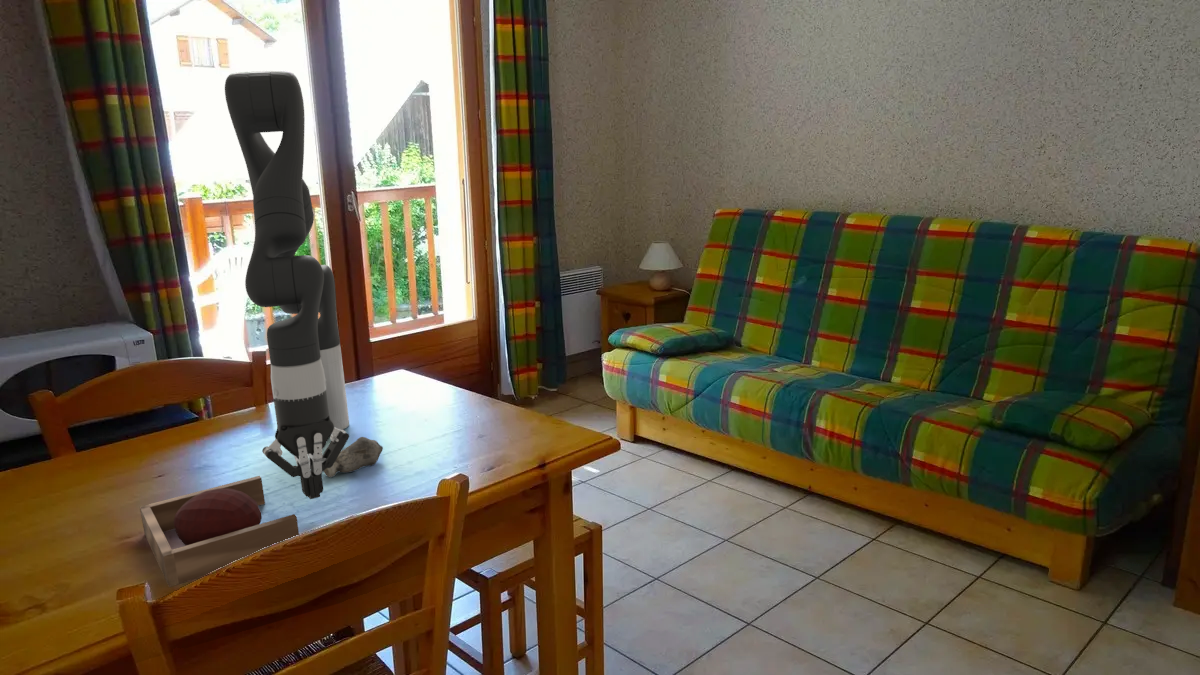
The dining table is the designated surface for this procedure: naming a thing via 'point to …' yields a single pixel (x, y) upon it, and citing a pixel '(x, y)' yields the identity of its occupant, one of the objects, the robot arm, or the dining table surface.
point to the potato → (215, 515)
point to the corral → (216, 550)
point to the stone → (356, 456)
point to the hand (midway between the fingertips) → (313, 496)
